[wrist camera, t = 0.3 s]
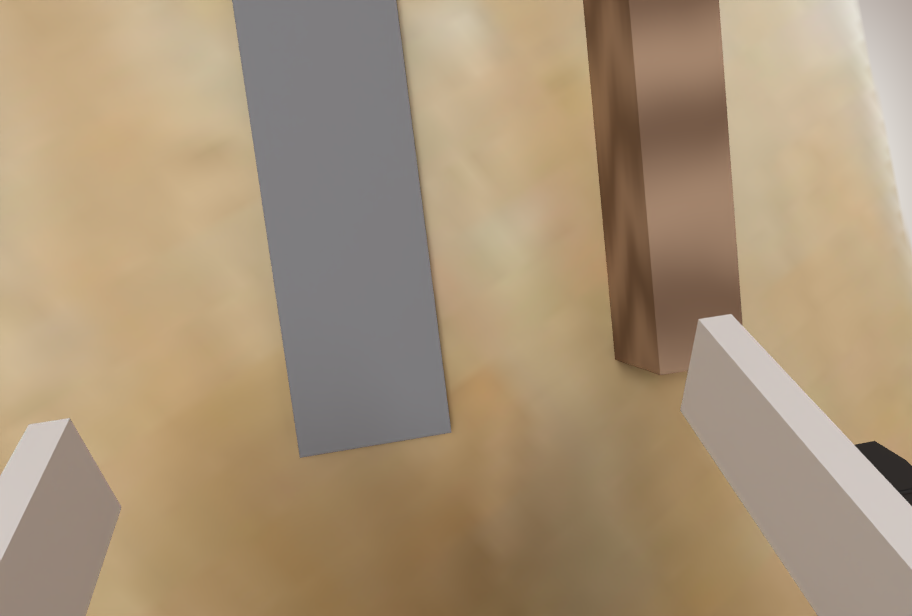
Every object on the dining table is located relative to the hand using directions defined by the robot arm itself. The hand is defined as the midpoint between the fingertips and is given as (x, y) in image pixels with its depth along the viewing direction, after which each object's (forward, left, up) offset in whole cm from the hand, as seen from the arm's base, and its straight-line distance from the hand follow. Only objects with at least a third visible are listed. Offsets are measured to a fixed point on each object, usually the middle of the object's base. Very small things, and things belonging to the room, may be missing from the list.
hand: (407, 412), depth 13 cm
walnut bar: (+7, -14, -17) cm, 23 cm away
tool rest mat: (+7, +1, -16) cm, 18 cm away
